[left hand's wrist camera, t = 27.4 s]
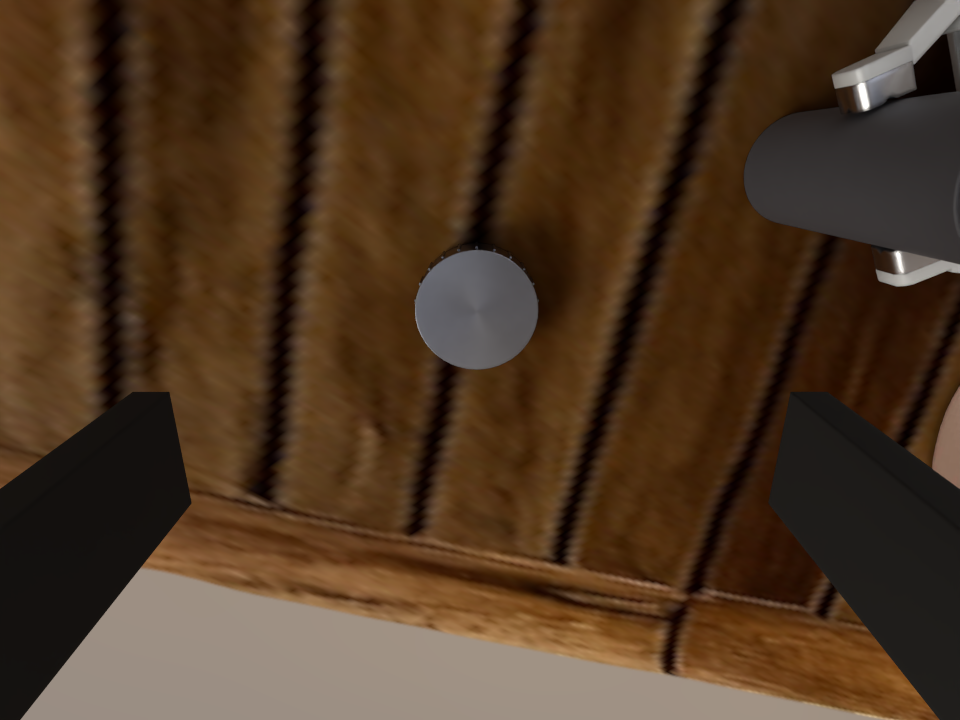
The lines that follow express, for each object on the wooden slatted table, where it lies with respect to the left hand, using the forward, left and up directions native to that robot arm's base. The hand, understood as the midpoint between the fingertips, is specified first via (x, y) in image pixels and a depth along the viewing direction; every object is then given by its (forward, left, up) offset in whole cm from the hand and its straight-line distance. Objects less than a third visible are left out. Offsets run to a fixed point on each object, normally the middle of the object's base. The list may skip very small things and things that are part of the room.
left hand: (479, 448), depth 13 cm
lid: (+1, 0, -16) cm, 16 cm away
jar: (-8, +14, -18) cm, 24 cm away
